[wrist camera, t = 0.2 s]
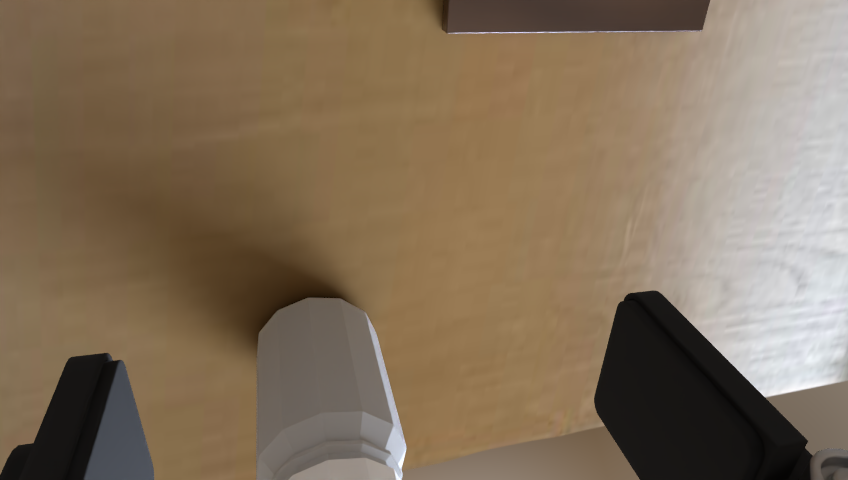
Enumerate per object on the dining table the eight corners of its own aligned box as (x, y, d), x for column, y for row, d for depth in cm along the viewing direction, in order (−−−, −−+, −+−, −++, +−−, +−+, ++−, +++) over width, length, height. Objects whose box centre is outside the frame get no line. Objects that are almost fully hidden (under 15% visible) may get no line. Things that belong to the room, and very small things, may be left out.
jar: (379, 367, 53) (428, 558, 38) (268, 391, 51) (273, 601, 36) (367, 278, 48) (418, 457, 33) (243, 301, 46) (236, 502, 31)
